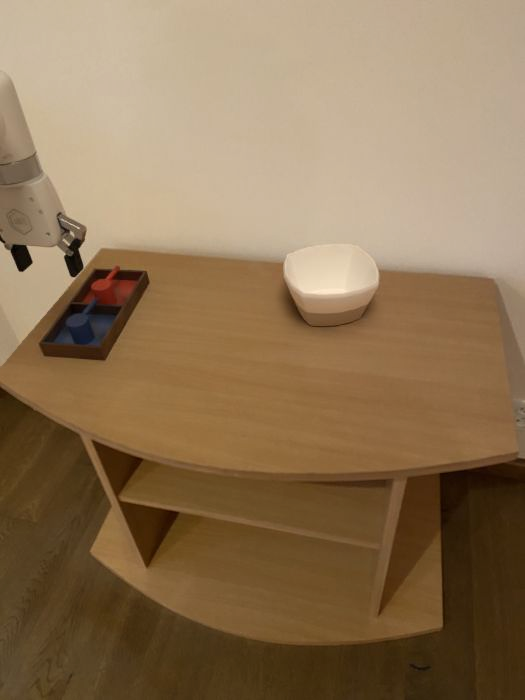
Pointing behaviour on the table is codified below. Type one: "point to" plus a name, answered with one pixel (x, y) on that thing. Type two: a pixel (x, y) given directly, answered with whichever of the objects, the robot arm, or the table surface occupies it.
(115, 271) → the red round-headed part
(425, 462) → the table surface
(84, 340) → the blue mallet
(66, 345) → the tray
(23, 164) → the robot arm
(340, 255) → the bowl
